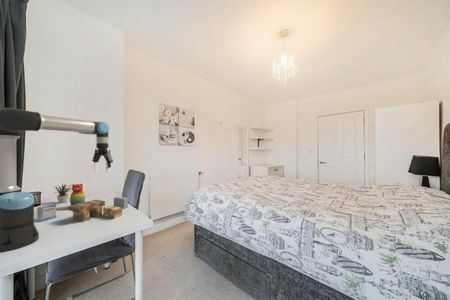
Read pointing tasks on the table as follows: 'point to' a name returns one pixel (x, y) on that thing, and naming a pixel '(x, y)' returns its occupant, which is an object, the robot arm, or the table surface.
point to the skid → (112, 211)
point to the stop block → (121, 202)
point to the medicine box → (46, 212)
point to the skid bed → (87, 214)
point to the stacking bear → (77, 195)
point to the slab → (86, 206)
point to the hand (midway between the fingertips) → (102, 171)
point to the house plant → (62, 193)
